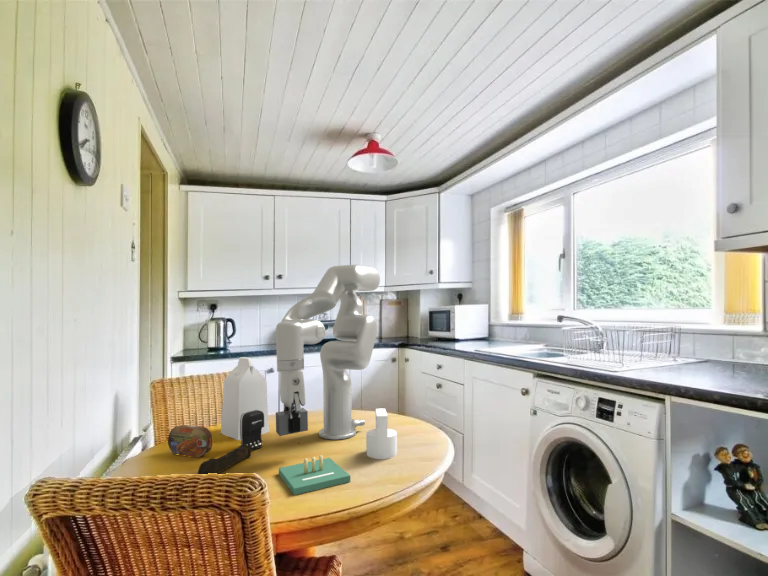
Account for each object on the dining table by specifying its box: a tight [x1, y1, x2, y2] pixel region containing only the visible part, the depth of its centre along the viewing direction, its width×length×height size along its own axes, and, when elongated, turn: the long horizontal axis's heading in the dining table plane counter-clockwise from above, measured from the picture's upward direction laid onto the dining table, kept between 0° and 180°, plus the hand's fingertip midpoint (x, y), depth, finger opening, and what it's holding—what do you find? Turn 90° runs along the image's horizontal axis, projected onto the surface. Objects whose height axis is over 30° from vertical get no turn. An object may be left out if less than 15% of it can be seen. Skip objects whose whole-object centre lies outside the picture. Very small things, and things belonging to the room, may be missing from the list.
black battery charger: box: [240, 410, 264, 452], centre depth 122 cm, size 7×4×11 cm, turn 146°
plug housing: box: [275, 407, 309, 437], centre depth 113 cm, size 8×4×6 cm, turn 119°
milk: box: [220, 356, 270, 441], centre depth 140 cm, size 12×12×26 cm
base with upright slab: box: [365, 407, 398, 460], centre depth 117 cm, size 9×9×12 cm
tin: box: [167, 424, 213, 458], centre depth 118 cm, size 15×3×8 cm, turn 70°
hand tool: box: [197, 444, 252, 474], centre depth 107 cm, size 19×4×5 cm, turn 160°
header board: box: [278, 454, 351, 496], centre depth 101 cm, size 14×14×5 cm
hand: (292, 429), depth 113 cm, fingers closed on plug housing, 4 cm apart
